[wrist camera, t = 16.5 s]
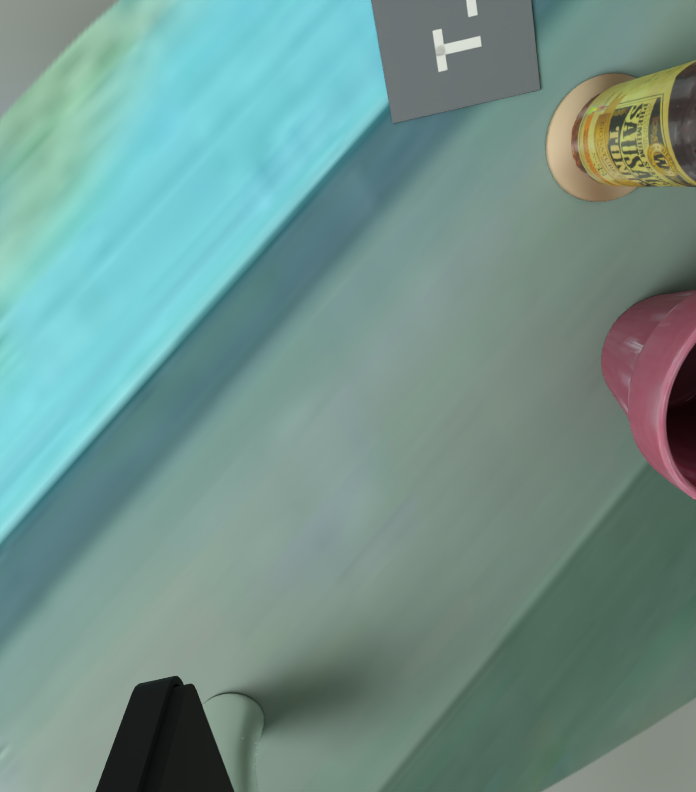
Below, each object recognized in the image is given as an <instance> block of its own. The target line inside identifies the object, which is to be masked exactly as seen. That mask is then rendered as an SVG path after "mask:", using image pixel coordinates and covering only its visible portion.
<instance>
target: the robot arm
mask: <svg viewBox="0 0 696 792" xmlns="http://www.w3.org/2000/svg"><path fill="white" fill-rule="evenodd" d="M96 792H234V789H233V786H232V784H231V781H230V778H229V776H228V773H227V770H226V768H225V765H224V762H223V760H222V757H221V754H220V752H219V749H218V746H217V744H216V741H215V738H214V736H213V733H212V730H211V728H210V725H209V722H208V720H207V717H206V714H205V712H204V709H203V706H202V704H201V701H200V698H199V696H198V693H197V690H196V688H195V686H194V685H193V684H186V685H184V684H183V682H182V680H181V679H180V678H179V677H178V676H173V677H168V678H163V679H159V680H154V681H149V682H145V683H140V684H138V685H137V686H136V687H135V688H134V690H133V692H132V695H131V697H130V700H129V703H128V705H127V708H126V711H125V714H124V716H123V719H122V722H121V724H120V727H119V730H118V732H117V735H116V738H115V741H114V743H113V746H112V749H111V751H110V754H109V757H108V759H107V762H106V765H105V768H104V770H103V773H102V776H101V778H100V781H99V784H98V786H97V789H96Z"/></svg>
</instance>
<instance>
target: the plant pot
mask: <svg viewBox="0 0 696 792" xmlns="http://www.w3.org/2000/svg"><path fill="white" fill-rule="evenodd" d="M601 364H602V372H603V376H604V379H605V382H606V384H607V386H608V387H609V389H610V391H611V392H612V393H613V395H614V396H615V398H616V400H617V401H618V403H619V404H620V406H621V408H622V409H623V411H624V412H625V414H626V415H627V416H628V418H629V422H630V427H631V431H632V434H633V437H634V440H635V442H636V444H637V446H638V448H639V450H640V451H641V453H642V455H643V456H644V457H645V459H646V460H647V461H648V462H649V464H650V465H651V466H652V467H653V468H654V469H655V470H656V471H658V472H659V473H660V474H661V475H662V476H664V477H665V478H666V479H667V480H669V481H670V482H671V483H673V484H674V485H675V486H676V487H678V488H679V489H680V490H682V491H683V492H685V493H686V494H688V495H689V496H691V497H692V498H694V499H695V500H696V290H690V291H684V292H677V293H670V294H662V295H656V296H653V297H650V298H647V299H645V300H642V301H640V302H638V303H637V304H635V305H633V306H632V307H631V308H629V309H628V310H627V311H626V312H624V313H623V314H622V315H621V316H620V317H619V318H618V319H617V321H616V322H615V324H614V325H613V326H612V328H611V329H610V331H609V333H608V335H607V337H606V340H605V342H604V346H603V350H602V358H601Z"/></svg>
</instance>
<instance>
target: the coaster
mask: <svg viewBox="0 0 696 792" xmlns="http://www.w3.org/2000/svg"><path fill="white" fill-rule="evenodd" d="M633 79H636V78H635V77H632V76H629V75H626V74H619V73H610V74H603V75H600V76H596V77H594V78H591V79H589V80H587V81H585V82H583V83H581V84H580V85H578V86H576V87H575V88H574V89H573V90H571V91H570V92H569V93H568V94H567V95H566V96H565V97H564V98H563V100H562V101H561V102H560V104H559V105H558V106H557V108H556V110H555V111H554V113H553V116H552V118H551V120H550V123H549V126H548V130H547V135H546V144H545V146H546V158H547V163H548V166H549V169H550V171H551V173H552V176H553V177H554V179H555V180H556V182H557V183H558V184H559V185H560V187H561V188H562V189H564V190H565V191H566V192H567V193H569V194H570V195H572V196H574V197H576V198H578V199H582V200H585V201H609V200H613V199H617V198H620V197H622V196H624V195H626V194H628V193H630V192H631V191H633V190H634V189H636V188H637V187H619V186H609V185H605V184H601V183H598V182H596V181H595V180H593V179H591V178H589V177H588V176H587V175H586V174H584V173H583V172H582V171H581V170H580V169H579V168H578V167H577V165H576V161H575V160H574V158H573V152H572V144H571V137H572V128H573V126H574V123H575V120H576V118H577V116H578V114H579V113H580V111H581V110H582V108H583V107H584V106H585V104H586V103H587V102H588V101H589V100H590V99H591V98H593V97H595V96H596V95H598V94H600V93H602V92H604V91H605V90H607V89H609V88H610V87H612V86H614V85H617V84H620V83H623V82H627V81H630V80H633Z"/></svg>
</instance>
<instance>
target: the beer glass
mask: <svg viewBox="0 0 696 792" xmlns="http://www.w3.org/2000/svg"><path fill="white" fill-rule="evenodd" d="M203 709H204V712H205V714H206V717H207V720H208V722H209V725H210V728H211V730H212V733H213V736H214V738H215V741H216V744H217V746H218V749H219V752H220V754H221V757H222V760H223V762H224V765H225V768H226V770H227V773H228V776H229V778H230V781H231V784H232V786H233V789H234V792H258V781H257V770H256V753H257V747H258V743H259V740H260V737H261V734H262V731H263V727H264V714H263V711H262V709H261V708H260V706H259V705H258V704H257V703H256V702H255V701H254V700H252V699H251V698H249V697H247V696H244V695H241V694H235V693H227V694H221V695H218V696H215V697H213V698H211V699H209V700H208V701H207V702H205V703H204V704H203Z"/></svg>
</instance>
